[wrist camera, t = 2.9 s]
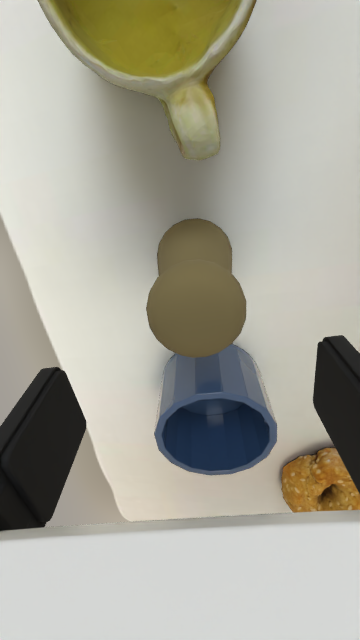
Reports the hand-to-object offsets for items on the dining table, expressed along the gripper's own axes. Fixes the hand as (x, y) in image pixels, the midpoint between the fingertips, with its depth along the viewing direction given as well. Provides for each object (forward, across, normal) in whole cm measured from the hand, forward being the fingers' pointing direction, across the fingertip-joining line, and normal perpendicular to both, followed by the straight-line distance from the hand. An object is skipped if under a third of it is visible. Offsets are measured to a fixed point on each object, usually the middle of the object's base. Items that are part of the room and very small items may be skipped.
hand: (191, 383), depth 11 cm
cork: (+15, 0, 0) cm, 15 cm away
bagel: (+15, -12, +28) cm, 35 cm away
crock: (+15, 0, +12) cm, 19 cm away
